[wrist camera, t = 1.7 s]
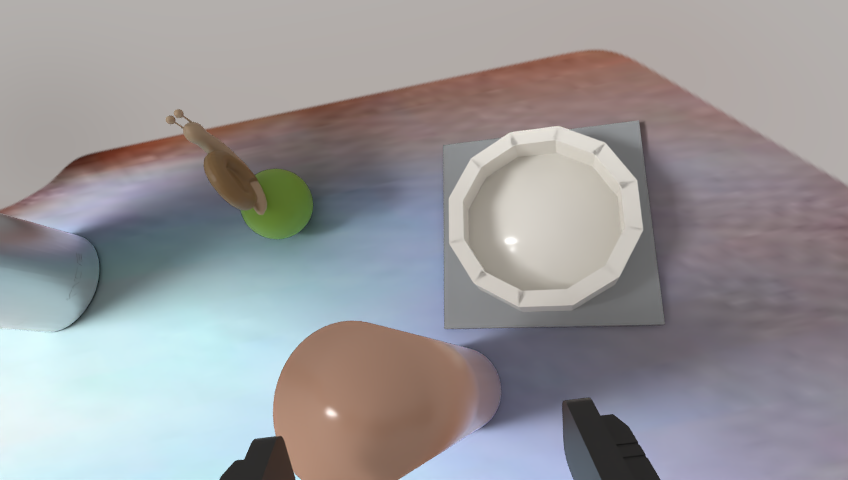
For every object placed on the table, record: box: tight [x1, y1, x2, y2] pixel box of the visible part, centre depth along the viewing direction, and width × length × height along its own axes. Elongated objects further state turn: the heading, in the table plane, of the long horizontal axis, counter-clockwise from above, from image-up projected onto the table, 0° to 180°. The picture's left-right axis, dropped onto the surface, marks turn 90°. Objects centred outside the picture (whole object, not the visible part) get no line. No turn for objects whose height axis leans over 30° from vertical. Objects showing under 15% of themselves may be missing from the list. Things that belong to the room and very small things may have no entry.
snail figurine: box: [166, 109, 313, 239], centre depth 34 cm, size 5×6×12 cm
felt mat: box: [443, 121, 665, 329], centre depth 33 cm, size 14×14×1 cm
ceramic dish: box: [449, 126, 643, 312], centre depth 32 cm, size 12×12×3 cm
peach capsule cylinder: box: [273, 321, 501, 480], centre depth 24 cm, size 6×6×18 cm
